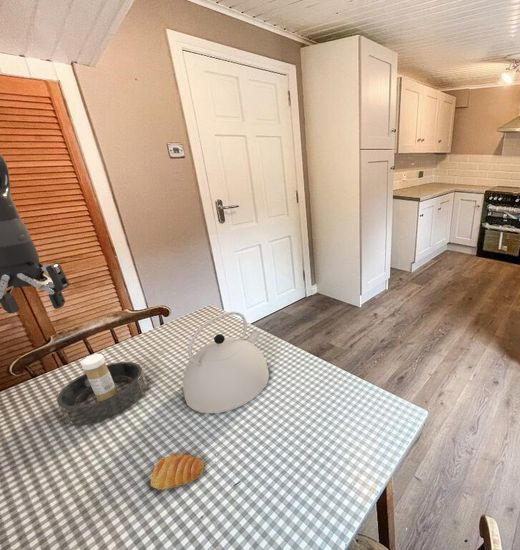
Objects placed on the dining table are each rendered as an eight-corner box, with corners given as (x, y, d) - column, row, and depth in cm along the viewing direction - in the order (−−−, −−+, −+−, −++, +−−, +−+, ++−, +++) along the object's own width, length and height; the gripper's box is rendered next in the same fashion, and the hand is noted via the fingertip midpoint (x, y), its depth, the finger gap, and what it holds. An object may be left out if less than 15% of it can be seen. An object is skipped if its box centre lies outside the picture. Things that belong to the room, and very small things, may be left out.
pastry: (210, 458, 67) (206, 446, 66) (197, 490, 61) (192, 477, 60) (166, 462, 67) (161, 450, 65) (148, 494, 60) (142, 481, 59)
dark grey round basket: (48, 433, 74) (38, 414, 71) (90, 383, 89) (83, 367, 87) (131, 418, 78) (124, 400, 75) (157, 373, 93) (151, 357, 91)
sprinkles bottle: (114, 390, 86) (98, 351, 81) (122, 396, 84) (106, 356, 79) (94, 401, 83) (76, 360, 77) (102, 407, 80) (84, 366, 75)
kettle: (240, 349, 105) (228, 290, 97) (290, 369, 95) (282, 305, 87) (167, 396, 85) (145, 327, 76) (222, 428, 75) (203, 353, 66)
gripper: (58, 234, 68) (83, 299, 74) (-22, 238, 65) (12, 305, 71) (33, 243, 61) (63, 313, 68) (-57, 248, 58) (-17, 321, 64)
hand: (37, 309), depth 69 cm, fingers open, 8 cm apart
